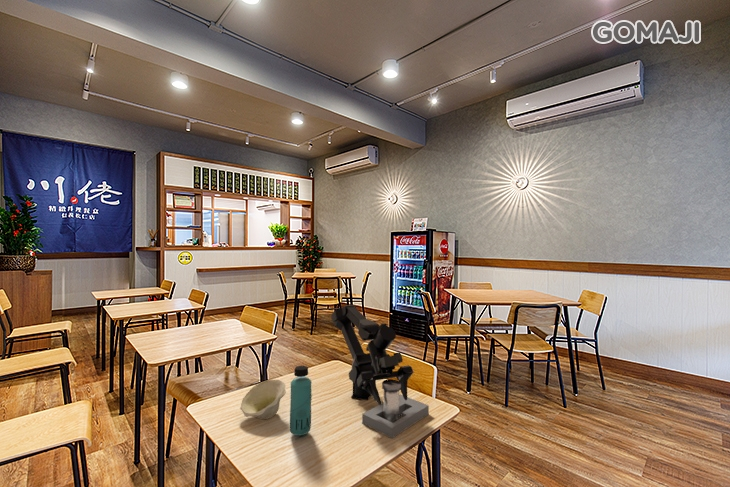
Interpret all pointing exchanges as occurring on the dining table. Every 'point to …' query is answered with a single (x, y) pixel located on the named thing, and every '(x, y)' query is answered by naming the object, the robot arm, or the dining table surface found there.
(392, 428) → the keyhole plate
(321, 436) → the dining table surface
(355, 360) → the robot arm
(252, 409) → the bowl
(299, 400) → the beverage bottle
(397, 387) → the salt shaker
